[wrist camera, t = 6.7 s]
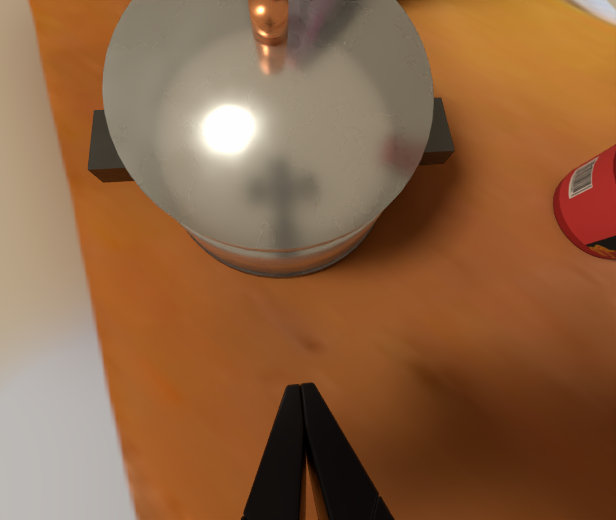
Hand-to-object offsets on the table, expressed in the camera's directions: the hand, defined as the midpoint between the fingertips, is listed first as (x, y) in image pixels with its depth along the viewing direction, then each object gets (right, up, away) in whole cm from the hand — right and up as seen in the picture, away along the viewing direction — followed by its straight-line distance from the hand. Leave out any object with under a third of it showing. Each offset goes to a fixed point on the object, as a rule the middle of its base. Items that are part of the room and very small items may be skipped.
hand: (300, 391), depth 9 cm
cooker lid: (-2, +15, +7) cm, 16 cm away
